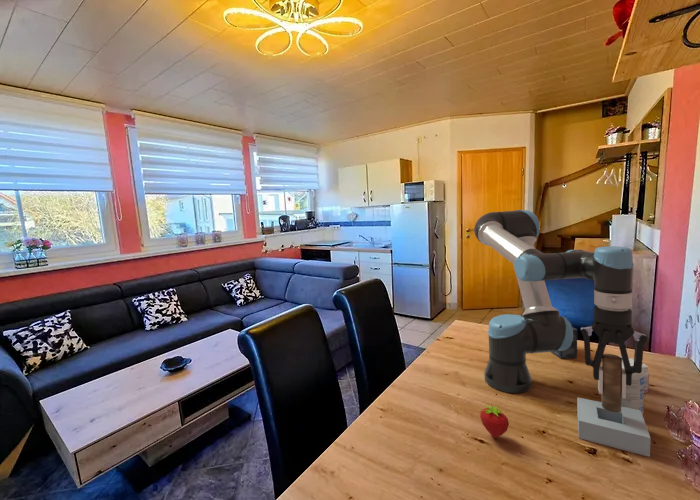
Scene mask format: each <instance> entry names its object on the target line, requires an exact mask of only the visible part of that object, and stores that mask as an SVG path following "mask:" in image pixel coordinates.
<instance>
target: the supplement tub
mask: <svg viewBox="0 0 700 500" xmlns="http://www.w3.org/2000/svg"><path fill="white" fill-rule="evenodd" d="M618 356H619V357H621V358H622V356H621V355H618ZM628 358H629V362H630V366H634V358H631V357H628ZM622 370H625V368H624V364H623V360H622ZM644 397H645V393H644V369H643V365H642V372H641V373H633V374H632V384H631V386H629V385H626V399H625V398H622V397H621V407H626V408H631V409H636V410H640V411H641V413H642V415H644V406H645V405H644V403H645V402H644V401H645V400H644V399H645V398H644Z"/></svg>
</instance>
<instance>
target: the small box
mask: <svg viewBox="0 0 700 500" xmlns="http://www.w3.org/2000/svg"><path fill="white" fill-rule="evenodd" d="M572 329H573V340H572V342H571V345H570V347H569V348H568V349H566V350H563V351H557V352H551V353H552V354H553V355H554V356H556V357H557V358H559V359H561V360H563V359H564V360H565V359H577V358H578V328H575V327H574V326H572Z"/></svg>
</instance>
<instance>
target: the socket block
mask: <svg viewBox="0 0 700 500" xmlns="http://www.w3.org/2000/svg"><path fill="white" fill-rule="evenodd" d="M576 399H577V400H576V402H577V403H576V405H577V407H576V414H577V418H576V419H577V432H578V433H577V434H578V439H581V440H585V441H588V442H592V443H597V444H600V445H603V446H607V447H611V448H615V449H618V450H622V451H626V452H630V453H633V454H637V455H641V456H645V457H649V458H651V436H650V432H649V431H648V430H649V429H648V427H647V425H646V421H645V419H644V416H643V414H642V413H641V411H640V410H636V409H631V408H626V407H621V412H611V411H608V410H606V409H604V408H603V407H602V401H597V400H591V399H588V398H583V397H577V398H576Z"/></svg>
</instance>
